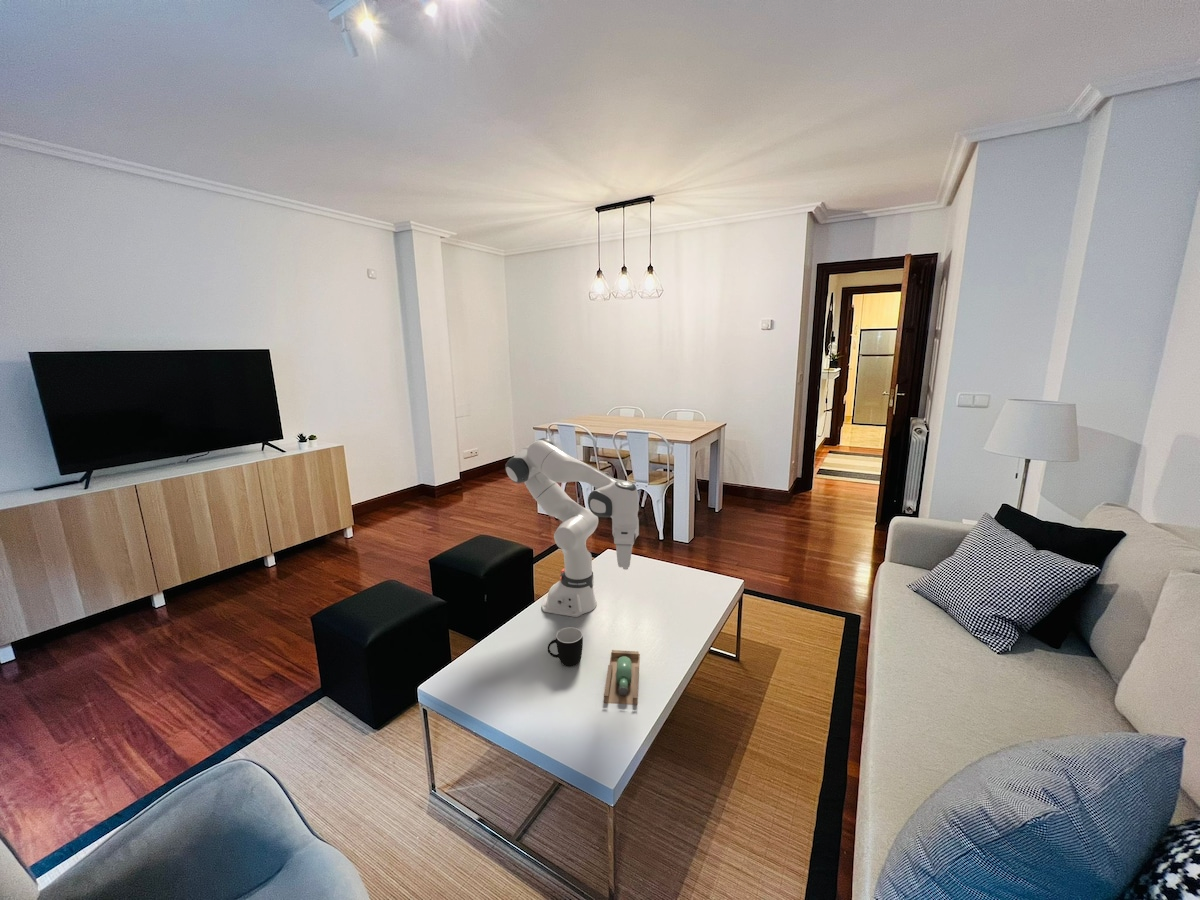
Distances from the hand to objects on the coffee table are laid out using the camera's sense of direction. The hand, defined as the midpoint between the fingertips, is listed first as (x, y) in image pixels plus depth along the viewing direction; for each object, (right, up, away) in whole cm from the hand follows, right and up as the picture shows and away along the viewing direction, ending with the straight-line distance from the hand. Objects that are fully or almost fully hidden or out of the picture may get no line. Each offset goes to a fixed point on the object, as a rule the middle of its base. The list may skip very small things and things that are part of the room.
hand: (625, 567), depth 163 cm
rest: (-1, -34, -7) cm, 34 cm away
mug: (-20, -32, +1) cm, 38 cm away
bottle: (-1, -30, -5) cm, 31 cm away
